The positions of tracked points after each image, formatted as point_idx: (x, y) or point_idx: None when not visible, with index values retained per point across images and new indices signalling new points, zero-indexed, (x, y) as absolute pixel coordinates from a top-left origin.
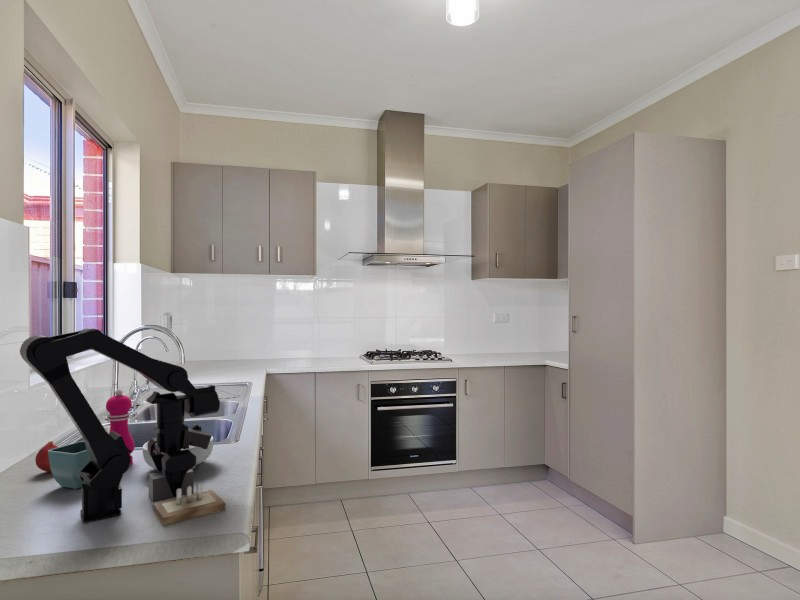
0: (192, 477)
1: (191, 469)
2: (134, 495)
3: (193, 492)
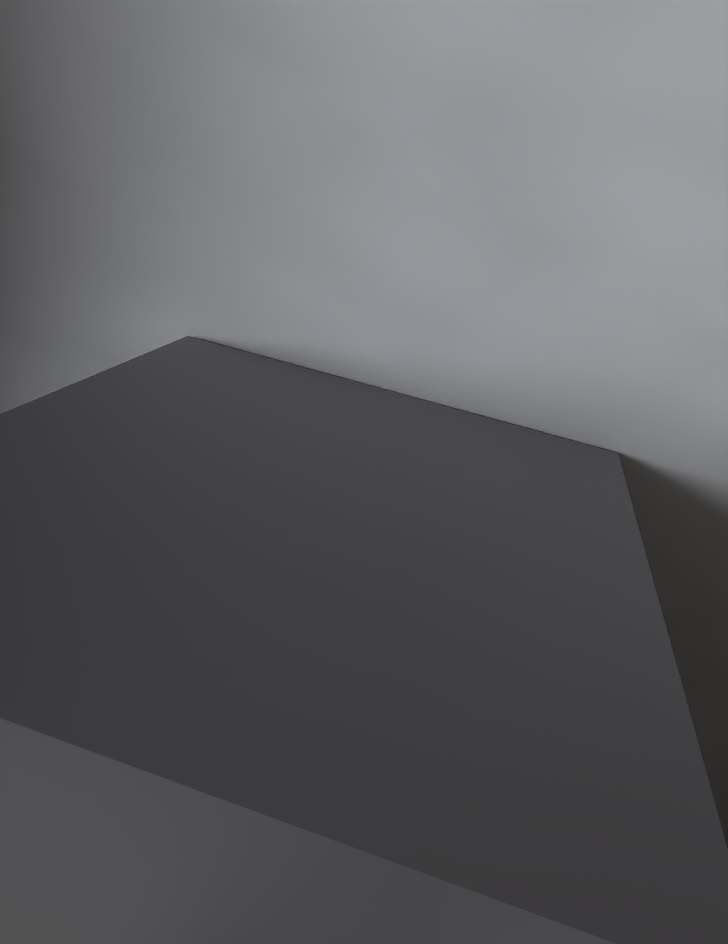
0: (677, 744)
1: (322, 846)
2: None
3: (616, 459)
